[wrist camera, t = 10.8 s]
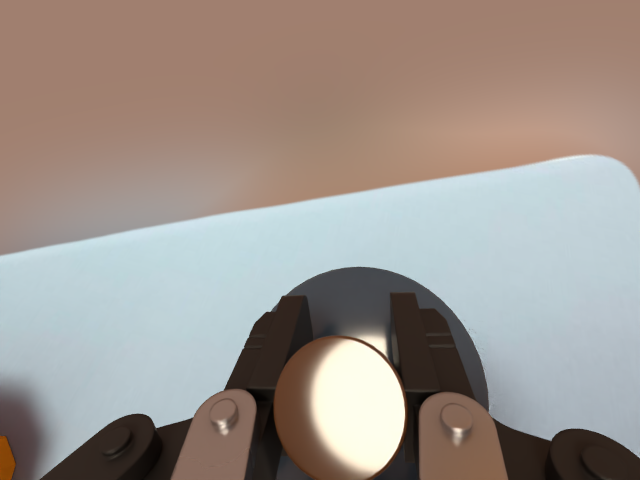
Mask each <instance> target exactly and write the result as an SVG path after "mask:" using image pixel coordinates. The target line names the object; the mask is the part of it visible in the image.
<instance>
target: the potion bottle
mask: <svg viewBox="0 0 640 480" xmlns="http://www.w3.org/2000/svg"><path fill="white" fill-rule="evenodd" d="M15 466H16V463H15V460H14V457H13V455H12V452H11V449H10V446H9V444H8V441H7V438H6V436H0V480H11V478H12V475H13V472H14V469H15Z"/></svg>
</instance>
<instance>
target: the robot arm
mask: <svg viewBox="0 0 640 480" xmlns="http://www.w3.org/2000/svg"><path fill="white" fill-rule="evenodd" d="M390 314H391V339H392V352H393V361H394V367H395V369H396V370H397V372H398V374H399V376H400V378H401V380H402V383H403V386H404V388H405V392H406V396H407V401H408V426H407V432H406V436H405V440H404V442H403V449H404V458H405V463H415V466H416V473H417V480H640V458H639V457H637V456H636V455H635V454H634V453H632V452H631V451H630V450H628V449H627V448H625V447H624V446H623V445H621V444H619V443H618V442H616V441H614V440H613V439H610V438H608V437H606V436H604V435H602V434H599V433H596V432H593V431H589V430H584V429H566V430H563V431H560V432H559V433H557V434H556V435H555V436H554V437H553V439H552V441H549V440H545V439H542V438H539V437H536V436H532V435H529V434H526V433H523V432H519V431H517V430H514V429H511V428H509V427H507V426H505V425H503V424H501V423H500V422H498V421H496V420H495V419H494V418H492V417H491V416H490V414H489V413H488V412H487V410H486V409H485V408H484V407H483V406H481V405H480V404H479V403H478V402H477V400H476V398H475V396H474V393H473V391H472V388H471V385H470V383H469V380H468V377H467V374H466V372H465V369H464V366H463V363H462V361H461V358H460V355H459V352H458V350H457V348H456V344H455V341H454V339H453V336H452V333H451V330H450V328H449V325H448V322H447V320H446V319H445V318H444V317H443V316H442V315H441V314H440V313H439V312H438V311H437V310H436V309H435V308H427V309H419V305H418V301H417V298H416V294H415V292H390ZM311 341H313V330H312V324H311V318H310V311H309V305H308V299H307V296H306V295H289V296H282V297H281V299H280V302H279V305H278V307H277V310H276V312H266V313H265V314H264V315H263V316H262V317H261V318H260V319H259V320H257V321H256V322H255V324H254V326H253V328H252V330H251V333H250V335H249V338H248V339H247V341H246V343H245V346H244V349H243V350H242V352H241V354H240V356H239V359H238V361H237V363H236V365H235V367H234V369H233V372H232V374H231V376H230V378H229V380H228V382H227V385H226V387H225V389H224V391H221V392H219V393H217V394H215V395H213V396H211V397H210V398H209V399H207V400H206V401H205V402H204V403H203V404H202V405H201V406H200V407H199V409H198V410H197V412H196V413H195V415H194V417H193V418H191V419H188V420H184V421H181V422H177V423H174V424H170V425H166V426H163V427H159V428H156V427H155V425H154V423H153V421H152V419H151V418H150V417H149V416H147V415H144V414H131V415H127V416H124V417H121V418H119V419H117V420H115V421H113V422H112V423H110V424H108V425H107V426H106V427H104V428H103V429H102V430H100V431H99V432H98V433H97V434H95V435H94V436H93V437H92V438H90V439H89V440H88V441H87V442H85V443H84V444H83V445H82V446H81V447H79V448H78V449H77V450H76V451H74V452H73V453H72V454H71V455H69V456H68V457H67V458H66V459H64V460H63V461H62V462H61V463H59V464H58V465H57V466H56V467H54V468H53V469H52V470H51V471H49V472H48V473H47V474H46V475H45V476H43V477H42V478H41V479H40V480H277V477H276V475H277V471H278V466H279V462H280V457H281V456H288V455H287V453H286V452H285V450H284V448H283V446H282V444H281V442H280V440H279V437H278V434H277V431H276V427H275V422H274V413H273V402H274V394H275V389H276V385H277V382H278V379H279V376H280V374H281V372H282V370H283V368H284V366H285V365H286V363H287V362H288V361H289V359H290V358H291V357H292V356H293V355H294V354H295V352H297V351H298V350H299V349H300V348H301V347H303V346H304V345H306V344H307V343H309V342H311Z"/></svg>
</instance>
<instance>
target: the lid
mask: <svg viewBox="0 0 640 480" xmlns="http://www.w3.org/2000/svg"><path fill="white" fill-rule="evenodd" d="M390 292H415V294H416V298H417V301H418V305H419V309H427V308H435V309H436V310H437V311H438V312H439V313H440V314H441V315H442V316H443V317H444V318H445V319H446V320H447V322H448V325H449V328H450V330H451V333H452V336H453V339H454V341H455V344H456V348H457V350H458V352H459V355H460V358H461V361H462V363H463V366H464V369H465V372H466V374H467V377H468V380H469V383H470V385H471V388H472V391H473V393H474V396H475V398H476V400H477V402H478V403H479V404H480V405H481V406H483V407H484V408H485V409H486V410H487V412H489V405H488V390H487V384H486V379H485V373H484V370H483V367H482V363H481V360H480V357H479V354H478V352H477V350H476V348H475V345H474V343H473V341H472V339H471V337H470V336H469V334H468V332H467V331H466V329H465V327H464V326H463V324H462V323H461V321H460V320H459V319H458V318H457V316H456V315H455V314H454V312H453V311H452V310H451V309H450V308H449V307H448V306H447V305H446V304H445V303H444V302H443V301H442V300H441V299H440V298H439V297H437V296H436V295H435V294H434V293H432V292H431V291H430V290H429V289H427V288H425V287H424V286H422V285H420V284H419V283H417V282H416V281H414V280H411V279H409V278H407V277H405V276H403V275H400V274H397V273H394V272H391V271H388V270H383V269H378V268H370V267H349V268H341V269H336V270H331V271H328V272H325V273H322V274H319V275H317V276H315V277H313V278H311V279H308V280H306V281H305V282H303V283H302V284H300V285H298V286H297V287H295V288H294V289H293V290H292V291H290V292H289V293H288V294H287V295H286V296H289V295H306V296H307V299H308V305H309V311H310V318H311V324H312V330H313V341H311V342H309V343H307V344H306V345H304V346H303V347H301V348H300V349H299V350H298V351H297V352H295V354H294V355H293V356H292V357H291V358H290V359H289V361H288V362H287V363H286V365H285V366H284V368H283V370H282V372H281V374H280V376H279V379H278V382H277V385H276V389H275V394H274V402H273V413H274V422H275V427H276V431H277V434H278V437H279V440H280V442H281V444H282V446H283V448H284V450H285V452H286V453H287V455H288V456H281V457H280V462H279V466H278V471H277V475H276V477H277V480H417V473H416V466H415V463H405V458H404V449H403V442H404V440H405V436H406V432H407V426H408V401H407V396H406V392H405V388H404V386H403V383H402V380H401V378H400V376H399V374H398V372H397V370H396V369H395V367H394V361H393V352H392V339H391V314H390ZM278 305H279V303H278V304H277V305H276V306H275V307H274V308H273V309H272V311H271V312H276V310H277V307H278Z"/></svg>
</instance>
